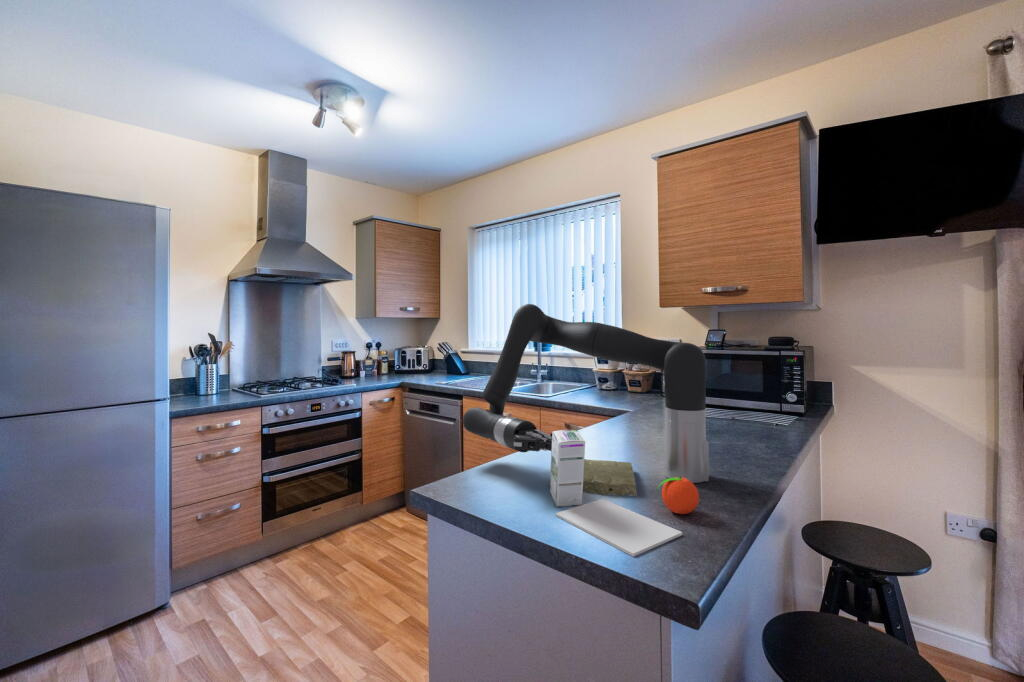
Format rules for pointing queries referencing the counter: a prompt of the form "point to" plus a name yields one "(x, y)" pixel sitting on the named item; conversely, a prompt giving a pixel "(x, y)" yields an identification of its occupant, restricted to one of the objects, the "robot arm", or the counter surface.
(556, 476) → the syrup box
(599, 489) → the decorative tile
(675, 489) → the clementine
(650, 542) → the white rectangular slab
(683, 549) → the counter surface
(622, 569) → the counter surface
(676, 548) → the counter surface
